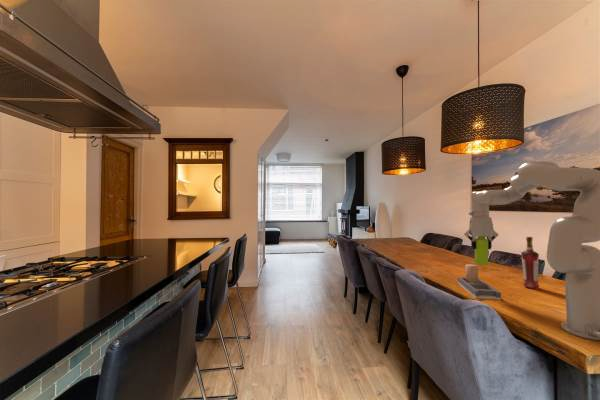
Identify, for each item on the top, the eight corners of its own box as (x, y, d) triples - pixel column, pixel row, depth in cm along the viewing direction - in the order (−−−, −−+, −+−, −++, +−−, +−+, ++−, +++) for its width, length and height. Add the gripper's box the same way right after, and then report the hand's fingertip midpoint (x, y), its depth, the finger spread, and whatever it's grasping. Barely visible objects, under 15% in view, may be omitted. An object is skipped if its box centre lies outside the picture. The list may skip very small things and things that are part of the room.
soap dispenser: (492, 265, 134) (492, 226, 134) (477, 264, 135) (477, 226, 136) (487, 263, 140) (487, 225, 140) (472, 262, 141) (472, 225, 142)
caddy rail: (501, 299, 129) (500, 275, 129) (475, 298, 131) (474, 274, 131) (478, 284, 154) (478, 263, 154) (457, 283, 156) (457, 262, 157)
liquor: (523, 284, 151) (521, 235, 152) (540, 287, 146) (538, 236, 146) (521, 287, 146) (519, 237, 147) (539, 290, 141) (537, 238, 141)
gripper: (464, 215, 137) (465, 249, 136) (502, 214, 132) (504, 250, 132) (459, 214, 144) (460, 247, 144) (495, 214, 140) (497, 248, 139)
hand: (481, 248), depth 138 cm, fingers closed on soap dispenser, 6 cm apart
